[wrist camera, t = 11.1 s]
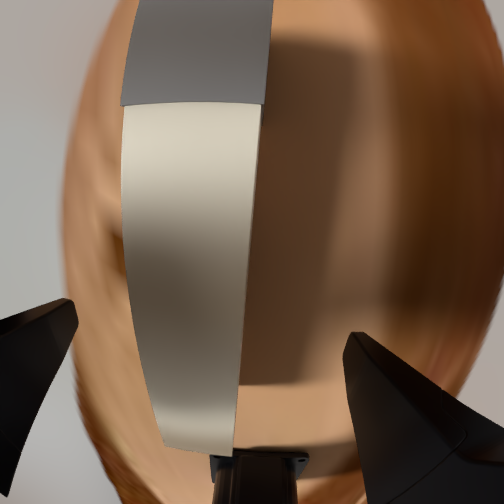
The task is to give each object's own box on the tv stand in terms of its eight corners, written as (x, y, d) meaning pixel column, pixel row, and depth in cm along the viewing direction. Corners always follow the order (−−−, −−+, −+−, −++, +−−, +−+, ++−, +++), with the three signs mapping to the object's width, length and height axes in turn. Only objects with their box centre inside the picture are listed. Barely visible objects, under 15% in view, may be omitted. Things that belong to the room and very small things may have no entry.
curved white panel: (239, 385, 12) (233, 458, 8) (183, 378, 12) (163, 448, 8) (269, 43, 7) (275, -24, 3) (188, 42, 7) (144, -16, 3)
